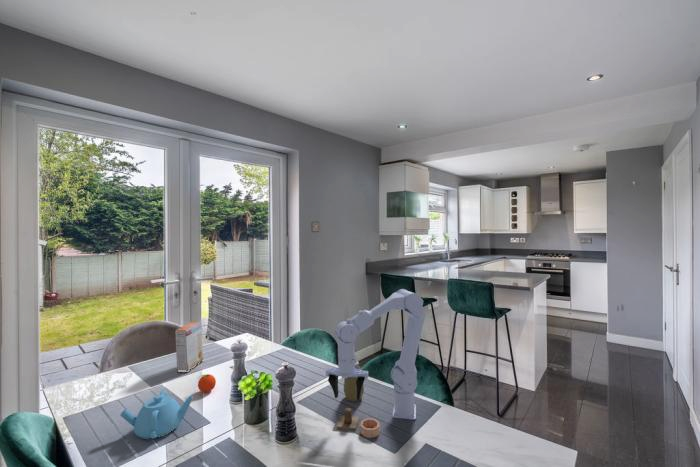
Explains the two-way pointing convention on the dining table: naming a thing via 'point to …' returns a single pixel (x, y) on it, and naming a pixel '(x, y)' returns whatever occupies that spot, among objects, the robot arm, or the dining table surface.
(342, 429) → the coaster
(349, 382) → the squeeze bottle
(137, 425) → the teapot
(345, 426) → the lid
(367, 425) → the bowl
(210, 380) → the clementine
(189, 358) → the cracker box
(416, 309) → the robot arm
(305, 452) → the dining table surface
